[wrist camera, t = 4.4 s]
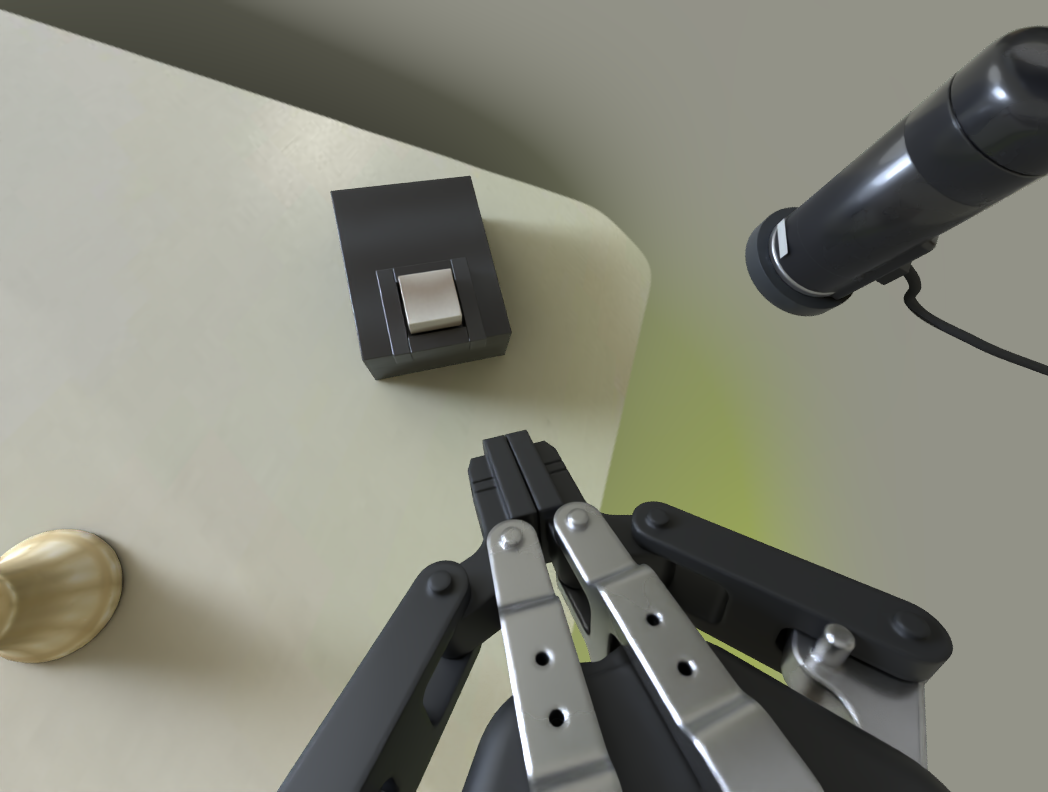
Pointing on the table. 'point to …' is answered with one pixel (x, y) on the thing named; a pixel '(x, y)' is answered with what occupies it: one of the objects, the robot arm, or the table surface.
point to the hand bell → (56, 594)
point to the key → (430, 301)
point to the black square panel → (415, 247)
